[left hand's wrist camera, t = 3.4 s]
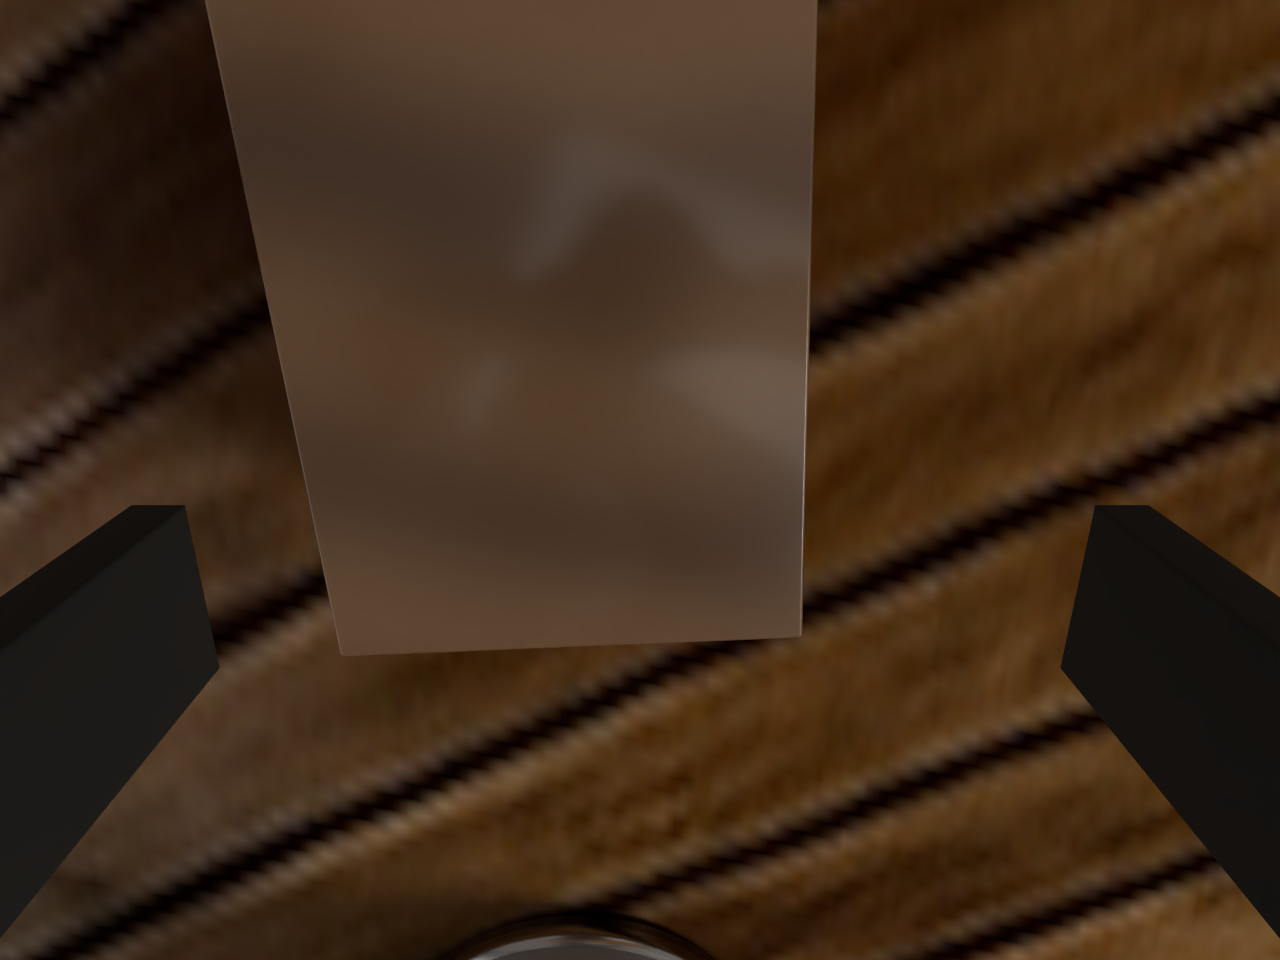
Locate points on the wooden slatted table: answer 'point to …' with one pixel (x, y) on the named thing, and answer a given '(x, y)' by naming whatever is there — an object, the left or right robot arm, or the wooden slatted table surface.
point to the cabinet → (538, 308)
